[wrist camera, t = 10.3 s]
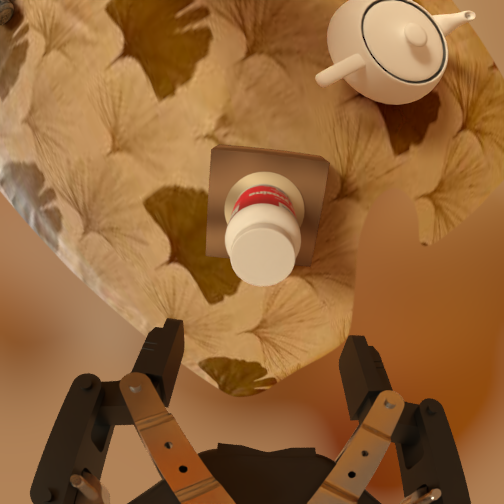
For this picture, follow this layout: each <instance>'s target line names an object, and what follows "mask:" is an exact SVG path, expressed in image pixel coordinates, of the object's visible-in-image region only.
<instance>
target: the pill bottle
mask: <svg viewBox="0 0 504 504" xmlns="http://www.w3.org/2000/svg"><path fill="white" fill-rule="evenodd" d="M225 246H226V250H227V253H228V255H229V257H230V260H231V265H232V267H233V270H234V271H235V273H236V274H237V275H238V276H239V277H240V278H241V279H242V280H243V281H245V282H247V283H249V284H251V285H255V286H271V285H275V284H277V283H279V282H281V281H283V280H284V279H285V278H287V277H288V275H289V274H290V273H291V271H292V270H293V267H294V264H295V259H296V257H297V255H298V253H299V250H300V246H301V234H300V229H299V225H298V222H297V218H296V215H295V211H294V208H293V204H292V202H291V200H290V198H289V196H288V195H287V194H286V193H285V192H284V191H283V190H282V189H280V188H278V187H276V186H274V185H270V184H256V185H253V186H251V187H249V188H247V189H246V190H244V191H243V192H242V193H241V194H240V196H239V197H238V199H237V201H236V203H235V206H234V208H233V211H232V214H231V217H230V220H229V223H228V226H227V229H226V233H225Z"/></svg>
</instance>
